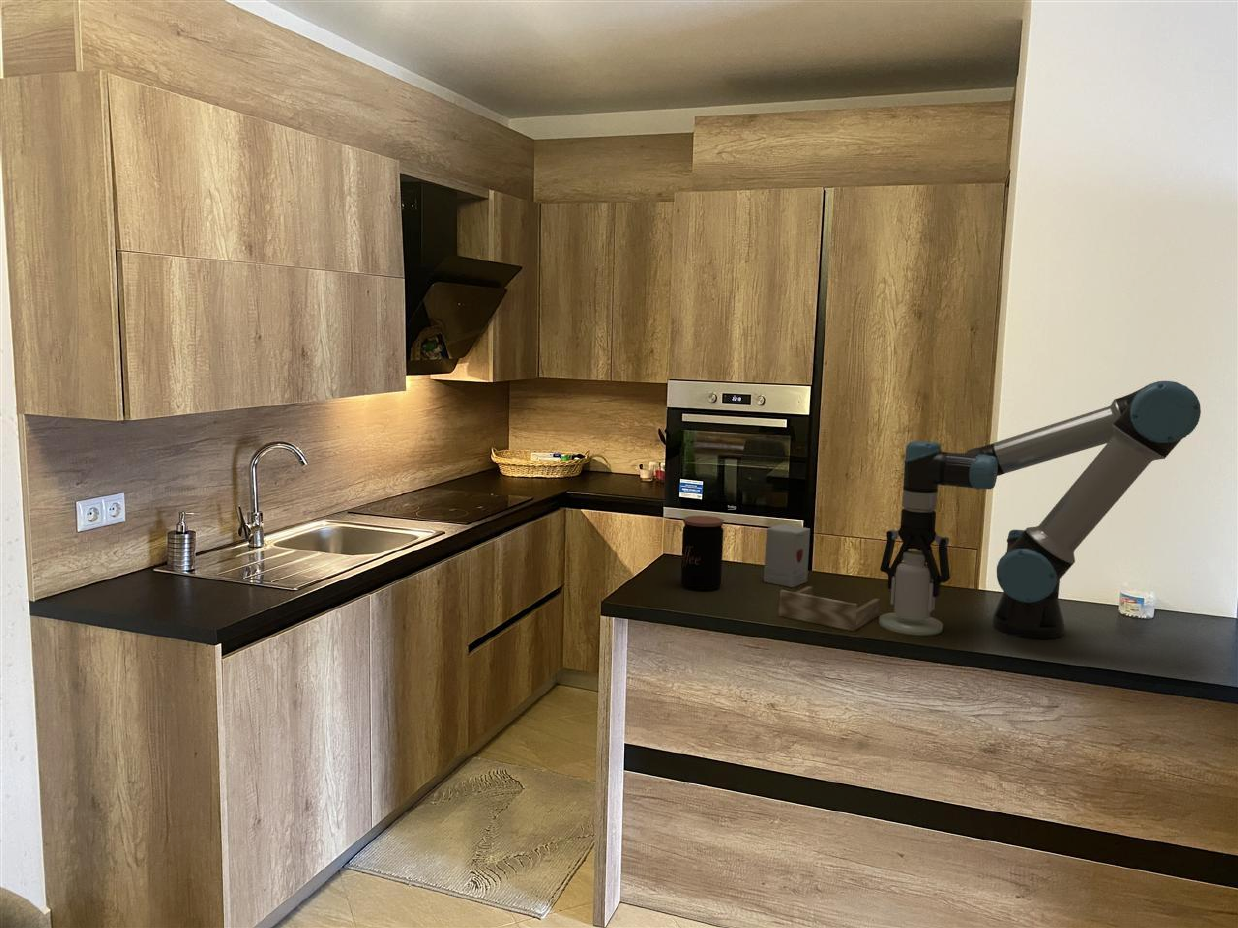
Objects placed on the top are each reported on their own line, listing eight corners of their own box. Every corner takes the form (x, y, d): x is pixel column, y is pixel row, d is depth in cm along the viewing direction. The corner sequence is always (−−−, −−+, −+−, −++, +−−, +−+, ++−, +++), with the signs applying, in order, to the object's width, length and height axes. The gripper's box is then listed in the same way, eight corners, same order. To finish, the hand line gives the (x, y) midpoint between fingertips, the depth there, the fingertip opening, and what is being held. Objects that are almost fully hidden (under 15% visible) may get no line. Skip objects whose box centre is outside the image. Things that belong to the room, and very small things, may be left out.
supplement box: (793, 588, 244) (796, 532, 242) (763, 582, 249) (765, 527, 247) (808, 581, 251) (811, 527, 249) (778, 576, 256) (781, 523, 254)
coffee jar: (674, 582, 246) (677, 516, 244) (711, 580, 249) (714, 515, 247) (689, 592, 236) (692, 523, 233) (727, 590, 239) (730, 522, 237)
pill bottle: (898, 609, 217) (902, 547, 215) (933, 614, 213) (937, 551, 211) (889, 617, 211) (893, 552, 209) (925, 623, 207) (930, 557, 205)
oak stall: (878, 615, 220) (880, 591, 219) (853, 631, 207) (855, 605, 206) (807, 601, 231) (808, 578, 230) (778, 615, 218) (780, 590, 217)
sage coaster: (950, 625, 214) (950, 620, 214) (931, 639, 203) (932, 634, 203) (891, 613, 222) (891, 608, 222) (870, 626, 211) (870, 621, 211)
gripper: (970, 512, 206) (962, 611, 209) (880, 501, 218) (874, 595, 221) (961, 517, 200) (953, 618, 203) (868, 505, 212) (862, 601, 215)
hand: (912, 606), depth 212 cm, fingers closed on pill bottle, 8 cm apart
